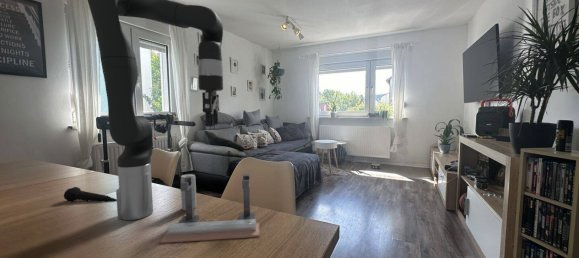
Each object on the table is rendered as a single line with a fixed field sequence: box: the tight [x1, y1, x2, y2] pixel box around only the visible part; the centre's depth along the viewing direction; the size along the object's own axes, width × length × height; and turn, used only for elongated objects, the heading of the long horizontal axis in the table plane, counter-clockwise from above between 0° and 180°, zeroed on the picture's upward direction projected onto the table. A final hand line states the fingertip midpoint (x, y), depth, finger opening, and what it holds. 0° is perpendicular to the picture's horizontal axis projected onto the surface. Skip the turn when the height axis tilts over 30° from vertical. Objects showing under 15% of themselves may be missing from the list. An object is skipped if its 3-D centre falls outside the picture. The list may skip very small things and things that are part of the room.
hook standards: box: [177, 173, 256, 223], centre depth 76 cm, size 23×6×14 cm, turn 97°
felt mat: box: [160, 222, 260, 244], centre depth 69 cm, size 26×7×1 cm, turn 97°
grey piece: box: [180, 173, 197, 212], centre depth 86 cm, size 5×5×12 cm
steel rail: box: [166, 218, 257, 236], centre depth 69 cm, size 24×2×2 cm, turn 97°
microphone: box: [63, 186, 117, 202], centre depth 94 cm, size 6×6×20 cm
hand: (212, 125), depth 79 cm, fingers open, 8 cm apart
